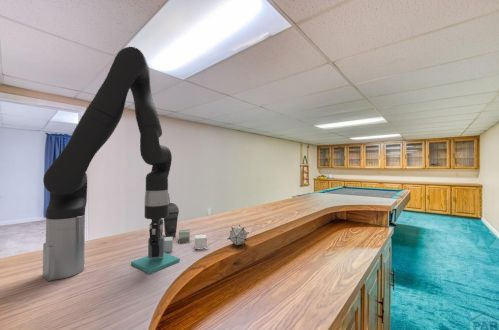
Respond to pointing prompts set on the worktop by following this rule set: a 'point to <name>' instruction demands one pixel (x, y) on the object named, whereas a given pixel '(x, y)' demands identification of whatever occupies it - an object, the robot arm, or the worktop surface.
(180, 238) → the sage block
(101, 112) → the robot arm
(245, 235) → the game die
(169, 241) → the grey block
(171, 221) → the beverage cup
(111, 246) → the worktop surface
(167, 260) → the teal mat
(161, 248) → the charcoal block
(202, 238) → the offwhite block
